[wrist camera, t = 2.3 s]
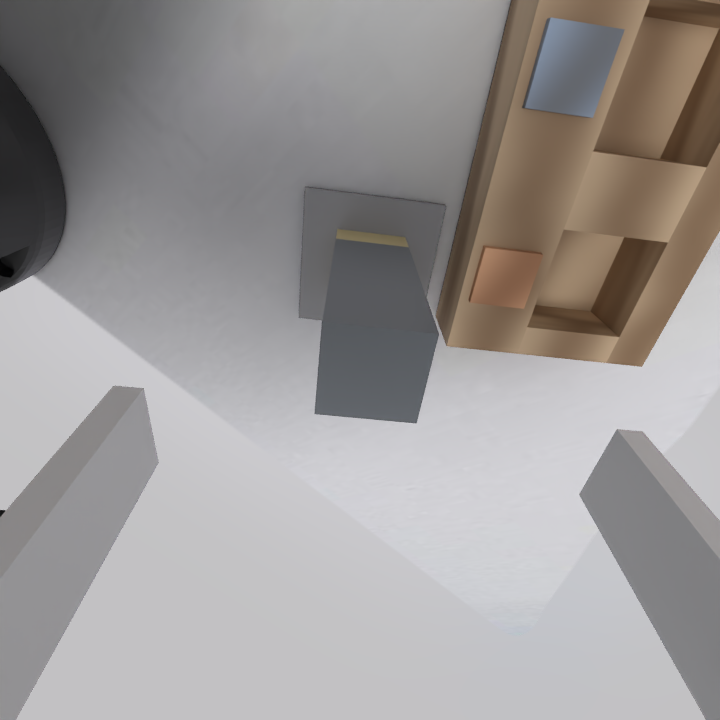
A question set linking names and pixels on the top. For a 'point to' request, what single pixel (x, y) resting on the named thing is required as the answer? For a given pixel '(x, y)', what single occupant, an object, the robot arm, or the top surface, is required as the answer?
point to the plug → (374, 331)
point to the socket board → (589, 180)
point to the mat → (361, 215)
